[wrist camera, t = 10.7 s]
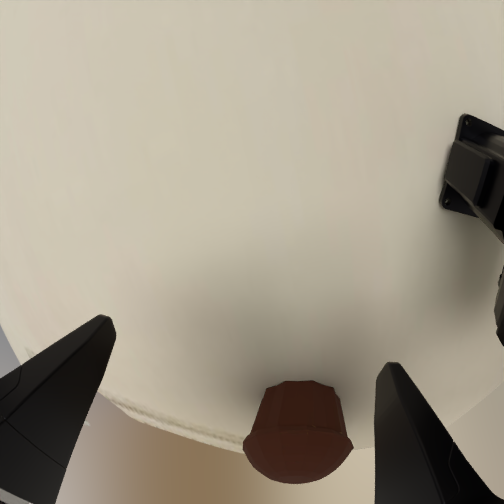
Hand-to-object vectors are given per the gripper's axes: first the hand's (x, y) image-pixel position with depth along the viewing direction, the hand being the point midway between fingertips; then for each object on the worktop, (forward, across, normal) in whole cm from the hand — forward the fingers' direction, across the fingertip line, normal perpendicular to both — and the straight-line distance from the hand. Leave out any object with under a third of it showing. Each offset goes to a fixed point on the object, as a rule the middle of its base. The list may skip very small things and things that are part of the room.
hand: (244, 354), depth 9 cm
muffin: (+12, -6, +23) cm, 27 cm away
